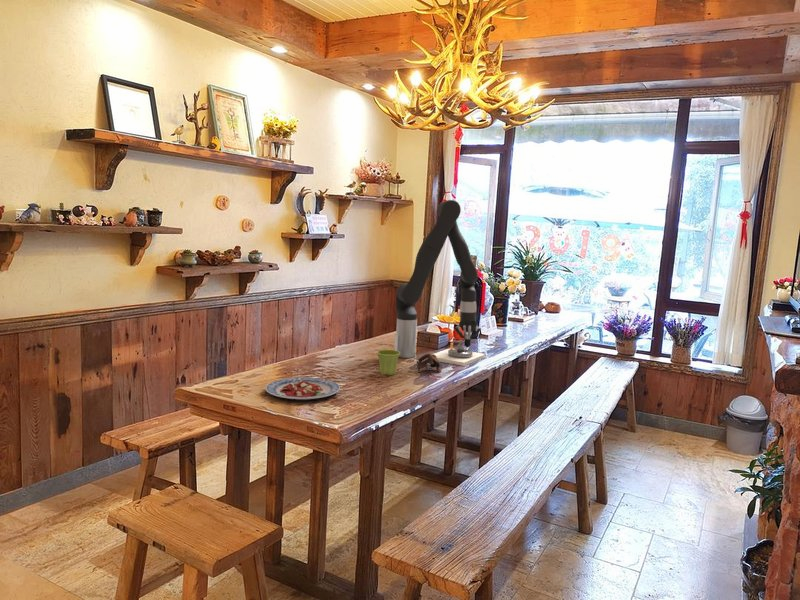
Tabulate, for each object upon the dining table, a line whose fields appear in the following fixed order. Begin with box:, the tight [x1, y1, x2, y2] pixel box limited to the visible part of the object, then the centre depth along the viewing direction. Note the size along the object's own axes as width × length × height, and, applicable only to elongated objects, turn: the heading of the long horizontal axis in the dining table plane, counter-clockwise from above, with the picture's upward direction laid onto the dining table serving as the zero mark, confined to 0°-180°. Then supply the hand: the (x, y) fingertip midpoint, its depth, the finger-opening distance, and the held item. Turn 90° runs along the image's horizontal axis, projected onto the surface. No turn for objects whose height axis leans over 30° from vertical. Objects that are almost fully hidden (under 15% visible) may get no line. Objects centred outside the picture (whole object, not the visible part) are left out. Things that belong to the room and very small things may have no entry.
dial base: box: [427, 342, 486, 367], centre depth 267 cm, size 22×18×4 cm
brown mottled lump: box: [416, 353, 442, 374], centre depth 243 cm, size 12×10×8 cm
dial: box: [448, 339, 474, 358], centre depth 270 cm, size 18×11×4 cm, turn 174°
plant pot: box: [376, 349, 400, 376], centre depth 236 cm, size 9×9×9 cm
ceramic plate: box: [264, 376, 341, 401], centre depth 206 cm, size 26×26×3 cm
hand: (467, 346), depth 276 cm, fingers closed
